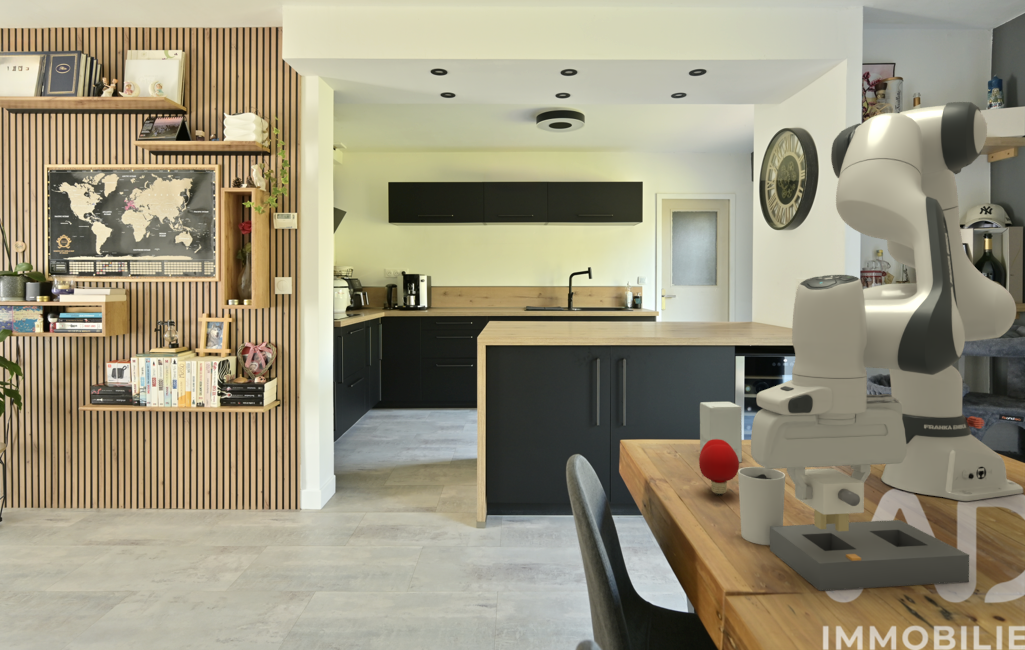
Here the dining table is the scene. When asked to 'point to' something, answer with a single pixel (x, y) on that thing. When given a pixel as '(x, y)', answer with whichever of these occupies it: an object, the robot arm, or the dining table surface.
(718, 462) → the red rounded egg-shaped part
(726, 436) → the supplement box
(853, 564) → the double socket
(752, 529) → the beige cup
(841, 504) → the plug
